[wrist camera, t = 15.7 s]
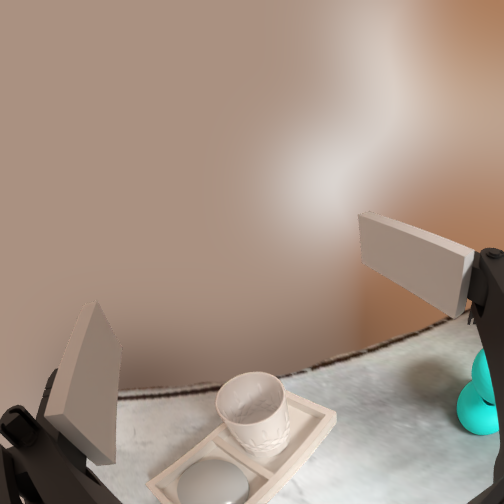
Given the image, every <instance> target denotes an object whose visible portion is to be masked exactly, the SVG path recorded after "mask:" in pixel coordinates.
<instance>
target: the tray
mask: <svg viewBox="0 0 504 504" xmlns="http://www.w3.org/2000/svg"><path fill="white" fill-rule="evenodd" d="M285 393H286V400H287V406H288V412H289V420H290V434H291V438H290V441H289V443H288V446H287V447H286V448H285V449H284V450H283V451H281V452H280V453H279V454H277V455H274V456H271V457H268V458H267V457H255V456H253V455H251V454H249V453H247V452H246V450H245V449H244V448H243V446H242V445H241V444H240V443H239V442H238V441H237V440H236V439H235V437H234V436H233V435H232V433H231V432H230V430H229V429H228V427H227V426H226V424H225V423H224V422H223V423H222V424H221V425H219V426H218V427H217V428H216V429H215V430H214V431H213V432H211V433H210V434H209V435H208V436H207V437H205V438H204V439H203V440H202V441H201V442H199V443H198V444H197V445H196V446H195V447H193V448H192V449H191V450H190V451H188V452H187V453H186V454H185V455H183V456H182V457H181V458H179V459H178V460H177V461H176V462H174V463H173V464H172V465H170V466H169V467H168V468H166V469H165V470H164V471H162V472H161V473H160V474H158V475H157V476H155V477H154V478H153V479H151V480H150V481H148V482H147V483H146V484H145V485H146V486H147V487H148V488H149V489H150V491H151V492H152V493H153V494H154V495H155V496H156V497H157V499H158V500H159V501H160V502H161V503H162V504H181V502H180V500H179V498H178V494H177V486H178V482H179V479H180V477H181V476H182V474H183V473H184V472H185V471H186V470H187V469H188V468H189V467H191V466H192V465H194V464H196V463H198V462H201V461H205V460H212V459H217V460H224V461H227V462H230V463H232V464H234V465H236V466H237V467H238V468H239V469H240V470H241V471H242V472H243V473H244V475H245V476H246V478H247V480H248V483H249V487H250V492H249V497H248V499H247V501H246V502H245V503H244V504H267V503H268V502H269V501H270V500H271V499H272V498H273V497H274V496H275V495H276V494H277V493H278V492H279V491H280V490H281V489H282V488H283V487H284V485H285V484H286V483H287V482H288V481H289V480H290V479H291V478H292V477H293V476H294V475H295V474H296V472H297V471H298V470H299V469H300V468H301V467H302V466H303V464H304V463H305V462H306V461H307V460H308V459H309V457H310V456H311V455H312V454H313V453H314V451H315V450H316V449H317V448H318V446H319V445H320V444H321V443H322V441H323V440H324V439H325V438H326V436H327V435H328V434H329V432H330V431H331V430H332V428H333V427H334V426H335V424H336V412H335V411H333V410H330V409H328V408H325V407H323V406H321V405H318V404H316V403H314V402H311V401H309V400H307V399H304V398H302V397H300V396H298V395H295V394H293V393H291V392H289V391H287V390H285Z"/></svg>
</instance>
